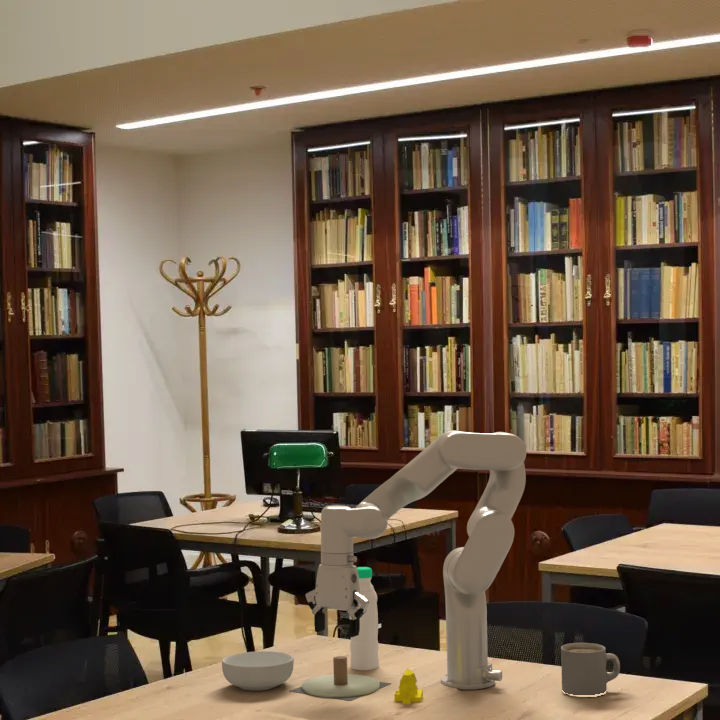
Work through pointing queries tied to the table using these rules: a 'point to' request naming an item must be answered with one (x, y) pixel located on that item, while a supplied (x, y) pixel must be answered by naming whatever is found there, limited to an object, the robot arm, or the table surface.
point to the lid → (340, 683)
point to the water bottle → (366, 627)
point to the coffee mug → (586, 668)
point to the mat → (299, 690)
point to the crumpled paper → (408, 689)
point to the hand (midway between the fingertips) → (336, 633)
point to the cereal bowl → (258, 669)
